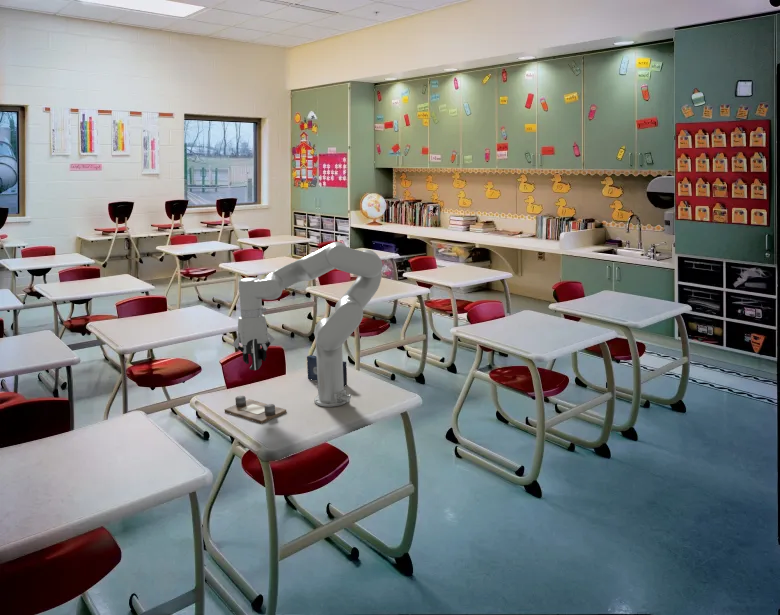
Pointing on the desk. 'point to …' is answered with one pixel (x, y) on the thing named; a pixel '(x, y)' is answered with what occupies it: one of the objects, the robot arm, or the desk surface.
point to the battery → (254, 354)
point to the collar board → (254, 410)
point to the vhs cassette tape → (313, 369)
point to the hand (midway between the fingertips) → (255, 361)
